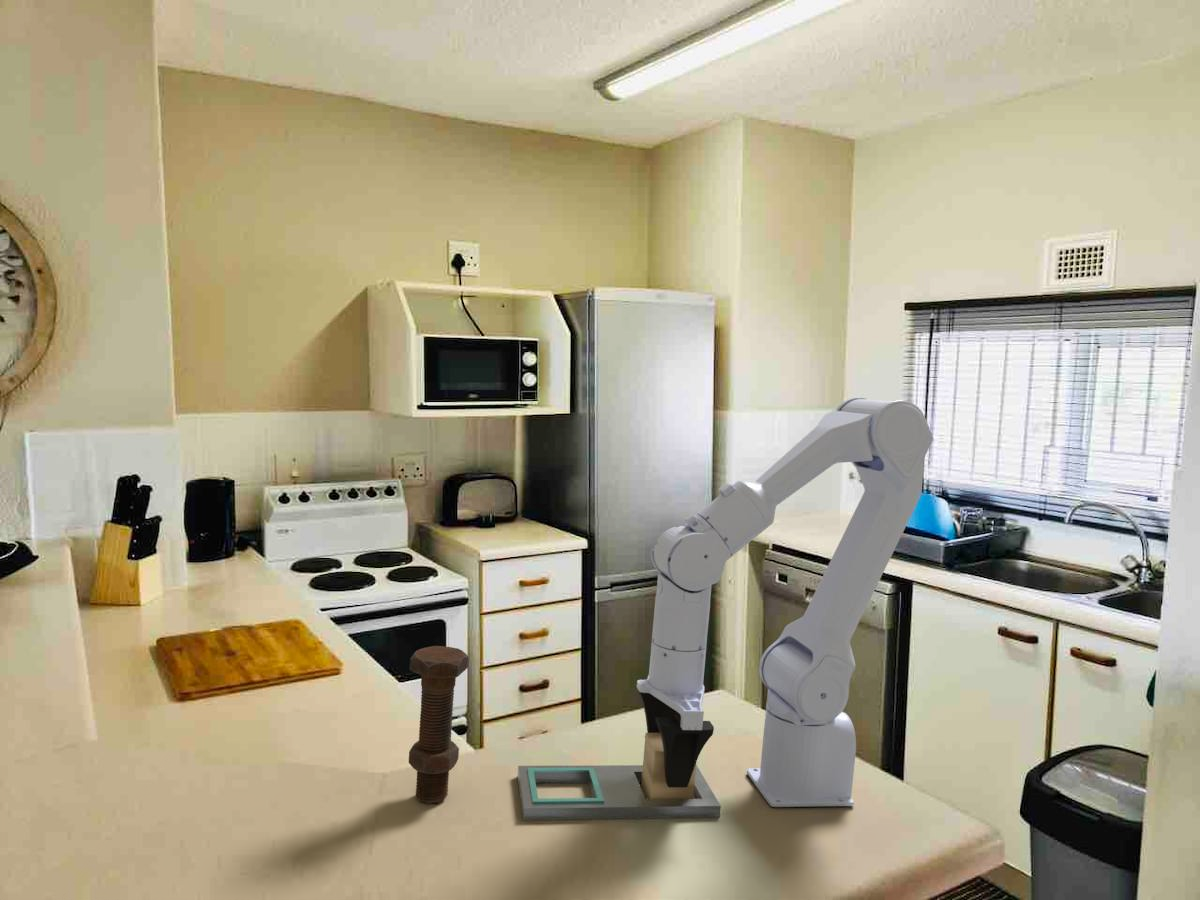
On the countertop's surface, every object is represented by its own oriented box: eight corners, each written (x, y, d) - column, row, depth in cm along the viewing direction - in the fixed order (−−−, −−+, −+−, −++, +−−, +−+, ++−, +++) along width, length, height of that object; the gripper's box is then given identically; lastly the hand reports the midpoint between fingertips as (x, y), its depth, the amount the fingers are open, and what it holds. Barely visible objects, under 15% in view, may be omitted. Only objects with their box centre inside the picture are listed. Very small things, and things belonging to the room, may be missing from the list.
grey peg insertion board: (695, 775, 94) (696, 763, 94) (719, 817, 86) (721, 804, 85) (517, 776, 91) (518, 764, 91) (523, 820, 82) (524, 806, 82)
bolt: (443, 816, 82) (452, 666, 81) (395, 807, 83) (404, 659, 82) (465, 789, 88) (474, 648, 86) (419, 781, 89) (427, 642, 87)
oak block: (681, 786, 92) (685, 732, 91) (692, 807, 87) (697, 751, 87) (641, 786, 91) (645, 732, 91) (650, 807, 87) (654, 751, 86)
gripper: (628, 621, 94) (618, 738, 95) (657, 665, 80) (645, 802, 81) (688, 623, 96) (678, 738, 97) (728, 667, 81) (715, 802, 82)
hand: (667, 768), depth 89 cm, fingers open, 7 cm apart
